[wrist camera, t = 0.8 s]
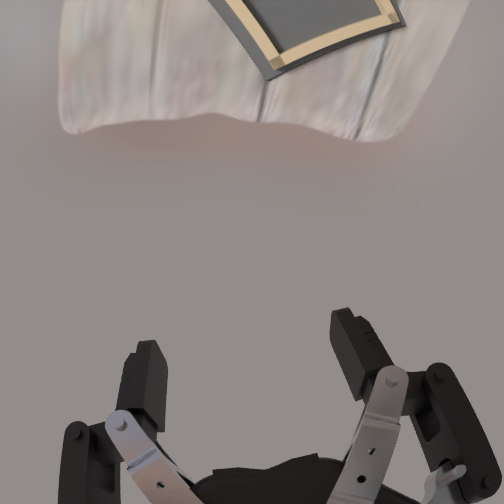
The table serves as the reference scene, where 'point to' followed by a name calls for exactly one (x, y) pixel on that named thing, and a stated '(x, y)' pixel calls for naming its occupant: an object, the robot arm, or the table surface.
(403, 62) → the table surface
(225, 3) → the mat
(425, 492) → the robot arm
